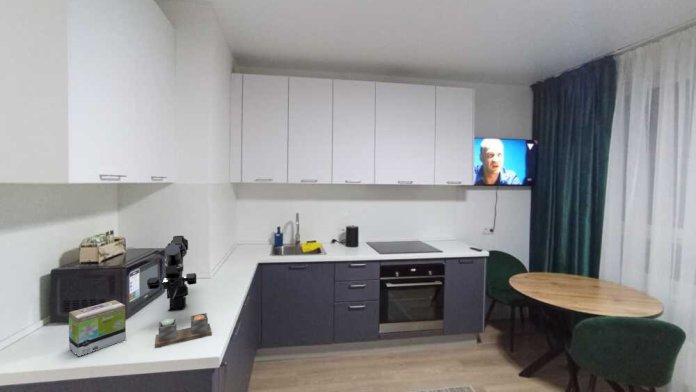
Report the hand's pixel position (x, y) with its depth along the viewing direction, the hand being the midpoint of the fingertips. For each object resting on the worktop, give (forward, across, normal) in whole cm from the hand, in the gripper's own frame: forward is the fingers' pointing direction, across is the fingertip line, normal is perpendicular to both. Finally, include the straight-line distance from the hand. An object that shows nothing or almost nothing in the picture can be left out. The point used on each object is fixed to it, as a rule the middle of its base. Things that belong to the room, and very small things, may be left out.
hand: (171, 299), depth 128 cm
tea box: (+11, -25, +9) cm, 28 cm away
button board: (+16, +5, +4) cm, 17 cm away
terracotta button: (+12, +11, +1) cm, 16 cm away
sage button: (+12, -1, -1) cm, 12 cm away
